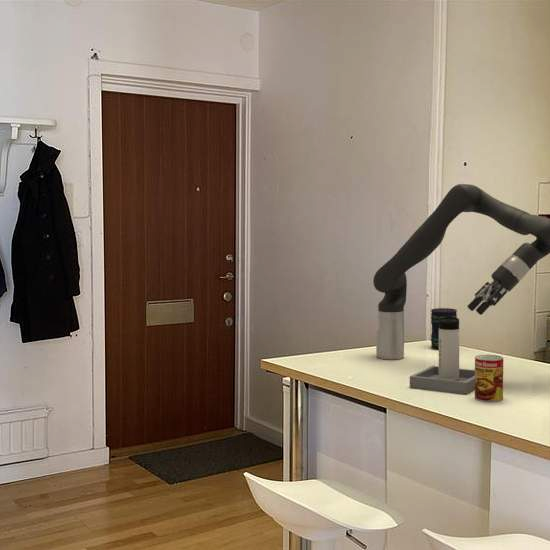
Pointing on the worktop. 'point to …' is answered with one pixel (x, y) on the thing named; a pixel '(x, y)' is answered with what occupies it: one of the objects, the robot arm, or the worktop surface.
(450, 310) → the storage jar
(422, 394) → the worktop surface
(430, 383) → the grey tray
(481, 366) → the canned food
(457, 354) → the travel mug
